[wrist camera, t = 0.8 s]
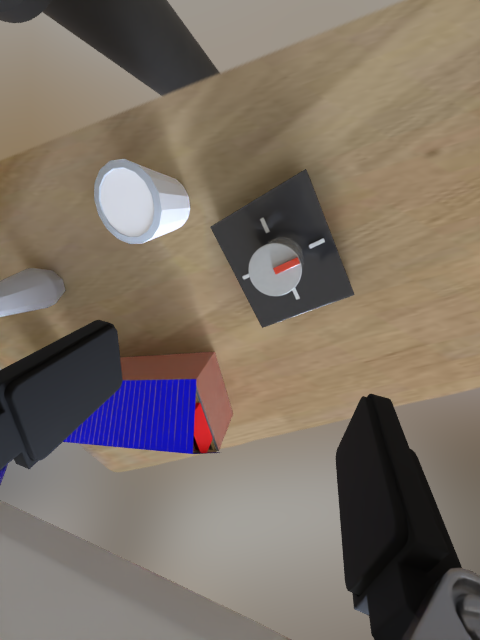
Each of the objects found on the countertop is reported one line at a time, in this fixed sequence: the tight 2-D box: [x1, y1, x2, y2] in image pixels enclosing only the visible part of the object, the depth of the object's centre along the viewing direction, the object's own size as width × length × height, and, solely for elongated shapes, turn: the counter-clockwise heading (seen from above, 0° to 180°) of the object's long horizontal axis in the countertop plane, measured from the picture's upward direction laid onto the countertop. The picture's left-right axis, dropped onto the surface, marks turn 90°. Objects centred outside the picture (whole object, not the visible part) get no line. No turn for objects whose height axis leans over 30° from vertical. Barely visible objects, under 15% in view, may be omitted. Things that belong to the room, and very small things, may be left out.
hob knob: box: [248, 237, 304, 296], centre depth 22 cm, size 4×4×5 cm
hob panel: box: [211, 169, 354, 328], centre depth 25 cm, size 12×10×3 cm
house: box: [63, 352, 233, 454], centre depth 35 cm, size 12×20×12 cm, turn 104°
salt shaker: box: [0, 268, 66, 317], centre depth 32 cm, size 6×6×13 cm
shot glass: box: [94, 159, 190, 244], centre depth 25 cm, size 7×7×7 cm
